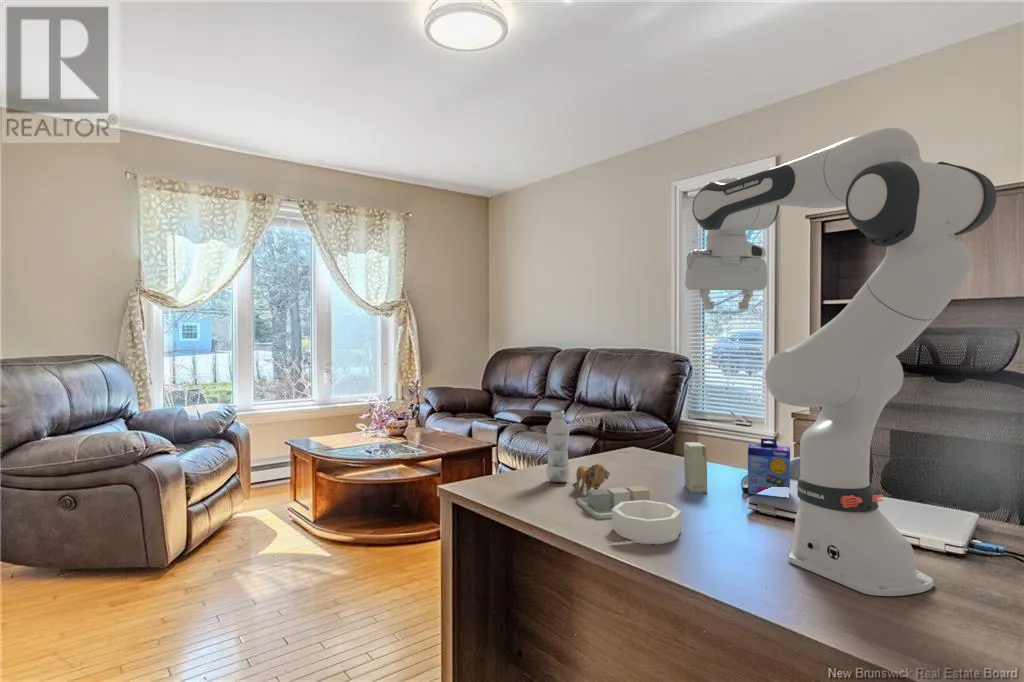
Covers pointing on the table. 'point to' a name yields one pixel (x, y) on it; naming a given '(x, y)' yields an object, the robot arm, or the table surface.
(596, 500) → the gray cube
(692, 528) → the table surface
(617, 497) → the pale grey cube
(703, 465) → the skincare box
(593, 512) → the tray
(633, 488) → the tan cube
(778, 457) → the ink cartridge box
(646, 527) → the bowl
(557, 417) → the plastic bottle
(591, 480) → the lion figurine
